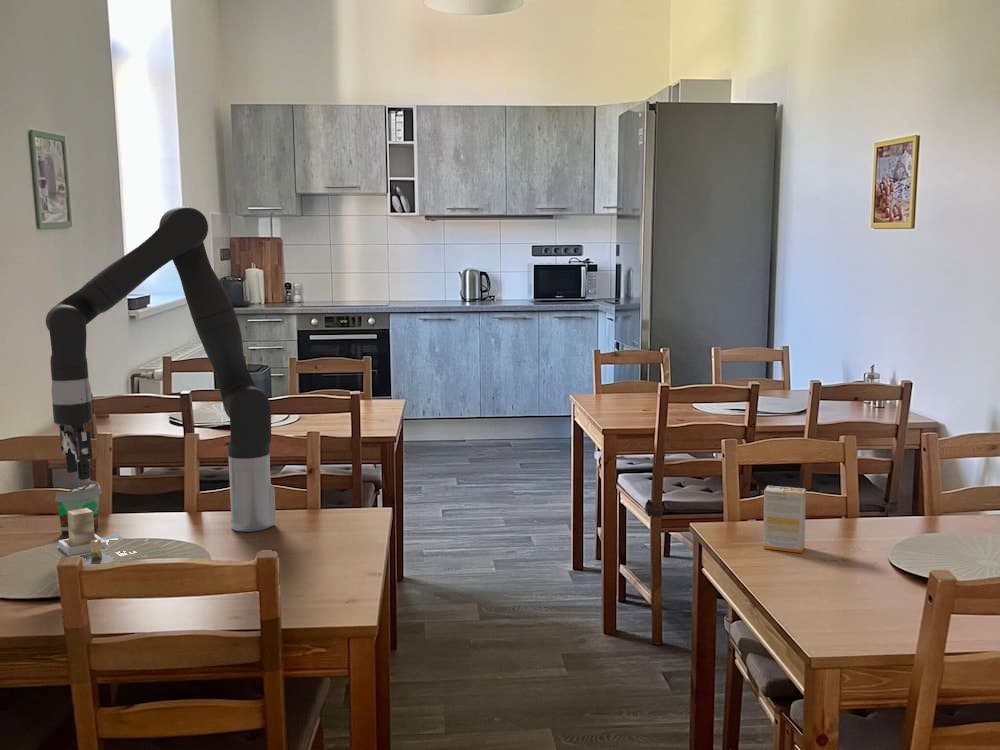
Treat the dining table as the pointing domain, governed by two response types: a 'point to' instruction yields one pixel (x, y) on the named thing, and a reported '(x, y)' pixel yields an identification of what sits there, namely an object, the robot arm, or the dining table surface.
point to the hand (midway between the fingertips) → (78, 475)
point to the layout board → (86, 550)
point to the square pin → (80, 527)
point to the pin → (96, 550)
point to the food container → (78, 502)
